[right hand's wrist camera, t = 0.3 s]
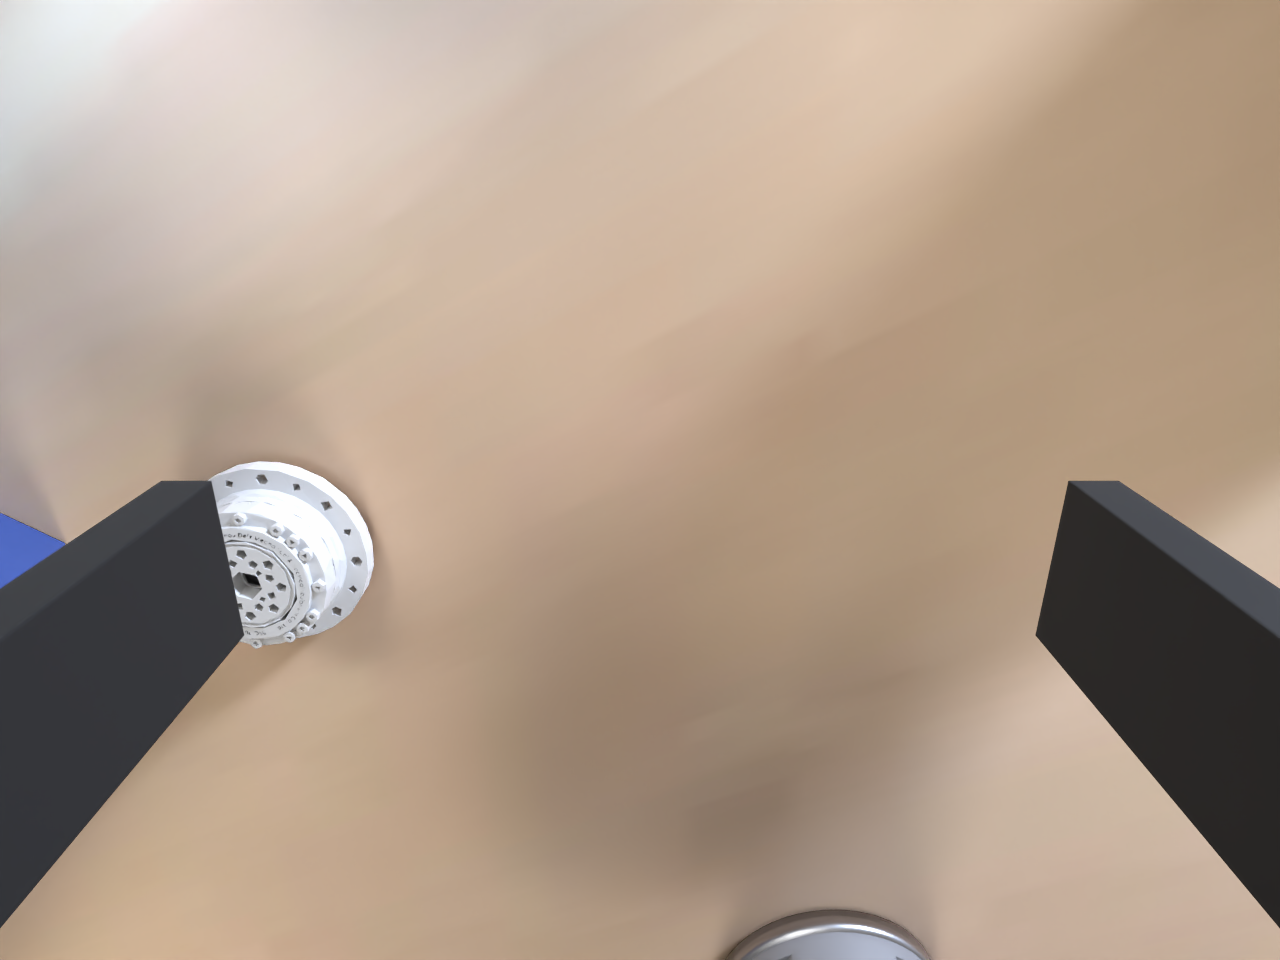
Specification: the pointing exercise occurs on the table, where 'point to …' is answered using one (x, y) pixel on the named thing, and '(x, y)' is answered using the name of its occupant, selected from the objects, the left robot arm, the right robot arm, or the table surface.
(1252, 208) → the table surface
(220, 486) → the mechanical component
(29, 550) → the bar
